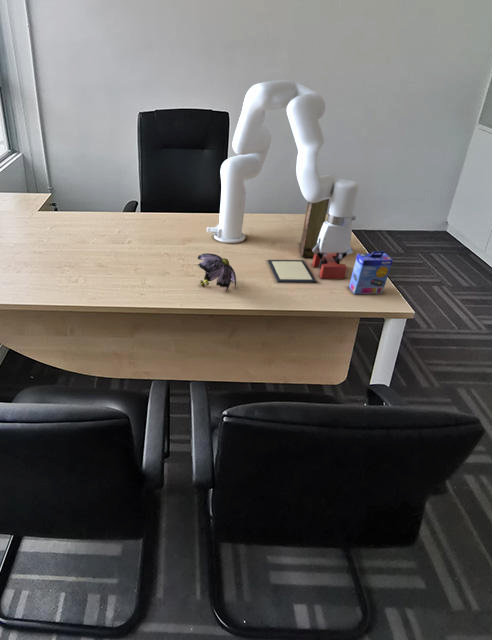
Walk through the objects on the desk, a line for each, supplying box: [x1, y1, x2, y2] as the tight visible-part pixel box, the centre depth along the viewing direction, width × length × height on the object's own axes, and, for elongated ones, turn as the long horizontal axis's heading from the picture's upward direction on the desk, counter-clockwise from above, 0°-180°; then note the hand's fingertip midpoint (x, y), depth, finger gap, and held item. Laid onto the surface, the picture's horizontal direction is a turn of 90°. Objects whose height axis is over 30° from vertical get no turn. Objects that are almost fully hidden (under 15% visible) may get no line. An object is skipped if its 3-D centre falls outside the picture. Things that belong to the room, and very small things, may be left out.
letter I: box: [311, 253, 348, 280], centre depth 172 cm, size 8×12×4 cm, turn 0°
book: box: [300, 199, 330, 258], centre depth 182 cm, size 16×6×25 cm, turn 168°
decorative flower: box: [197, 252, 237, 292], centre depth 160 cm, size 14×12×15 cm
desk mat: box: [267, 259, 317, 284], centre depth 173 cm, size 13×18×1 cm
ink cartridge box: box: [348, 250, 394, 295], centre depth 157 cm, size 10×6×14 cm, turn 95°
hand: (328, 269), depth 173 cm, fingers open, 3 cm apart
